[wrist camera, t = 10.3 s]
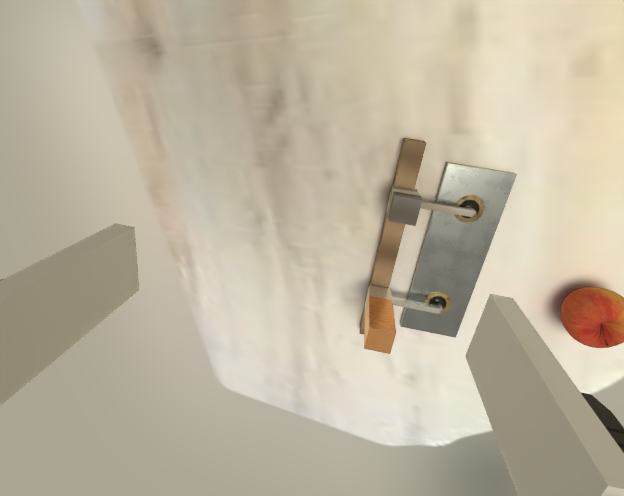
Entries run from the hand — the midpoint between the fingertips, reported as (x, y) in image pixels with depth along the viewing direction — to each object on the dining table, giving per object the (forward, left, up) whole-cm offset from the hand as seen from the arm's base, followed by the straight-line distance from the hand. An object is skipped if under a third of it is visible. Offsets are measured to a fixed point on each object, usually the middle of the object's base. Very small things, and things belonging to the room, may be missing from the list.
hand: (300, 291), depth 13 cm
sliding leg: (+18, +11, -33) cm, 39 cm away
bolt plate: (+11, +16, -35) cm, 40 cm away
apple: (+14, +34, -35) cm, 51 cm away
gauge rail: (+11, +11, -35) cm, 38 cm away
